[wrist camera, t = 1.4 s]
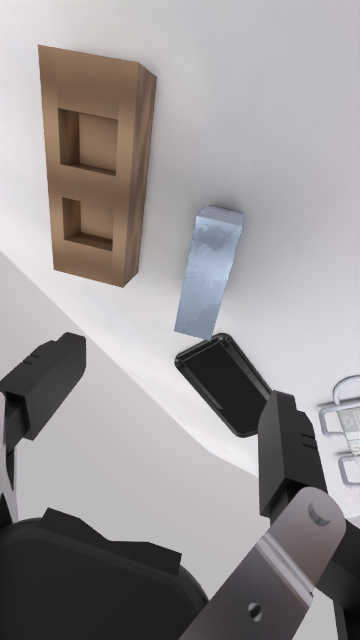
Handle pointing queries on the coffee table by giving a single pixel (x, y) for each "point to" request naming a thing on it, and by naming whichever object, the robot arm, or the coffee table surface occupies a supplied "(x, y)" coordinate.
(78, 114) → the two-pocket wooden block
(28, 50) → the coffee table surface
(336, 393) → the silver thin wire frame
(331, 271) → the coffee table surface
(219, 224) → the brushed steel block
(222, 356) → the phone
